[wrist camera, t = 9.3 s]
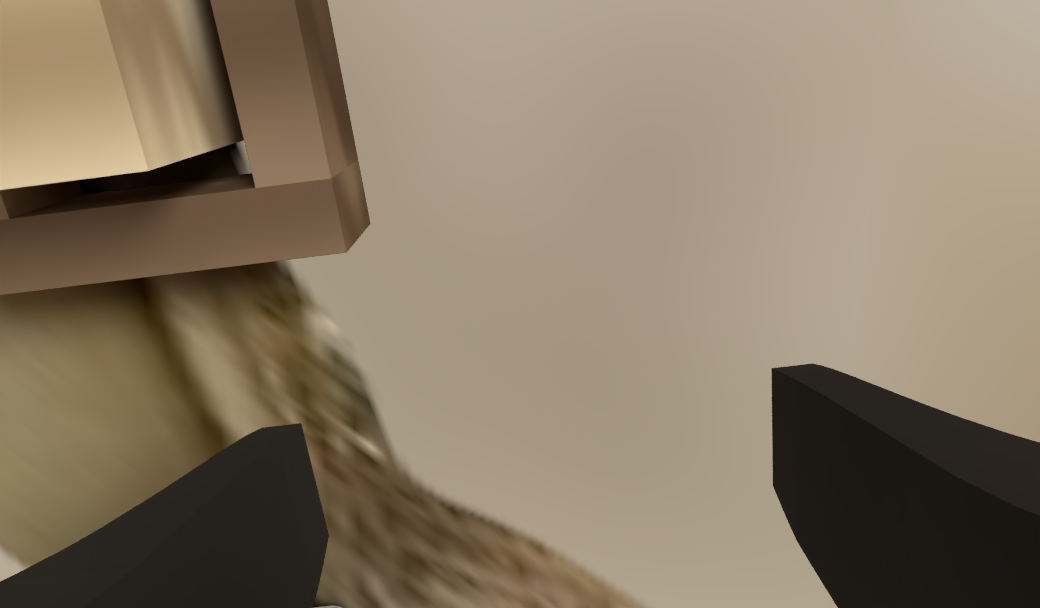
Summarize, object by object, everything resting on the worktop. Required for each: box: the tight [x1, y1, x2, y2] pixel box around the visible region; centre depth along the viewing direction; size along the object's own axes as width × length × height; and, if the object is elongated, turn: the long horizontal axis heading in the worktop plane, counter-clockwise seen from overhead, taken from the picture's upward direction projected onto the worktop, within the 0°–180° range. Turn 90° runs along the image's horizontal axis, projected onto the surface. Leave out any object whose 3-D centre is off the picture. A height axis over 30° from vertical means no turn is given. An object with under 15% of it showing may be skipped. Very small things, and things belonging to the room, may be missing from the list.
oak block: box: [0, 0, 244, 190], centre depth 15 cm, size 4×4×6 cm
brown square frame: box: [0, 0, 370, 295], centre depth 17 cm, size 9×9×3 cm
